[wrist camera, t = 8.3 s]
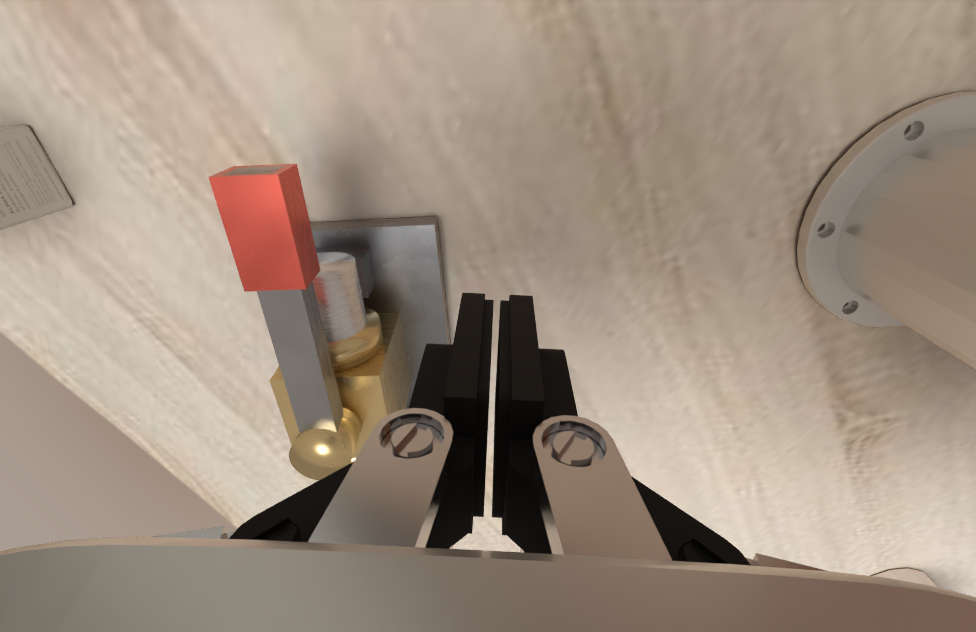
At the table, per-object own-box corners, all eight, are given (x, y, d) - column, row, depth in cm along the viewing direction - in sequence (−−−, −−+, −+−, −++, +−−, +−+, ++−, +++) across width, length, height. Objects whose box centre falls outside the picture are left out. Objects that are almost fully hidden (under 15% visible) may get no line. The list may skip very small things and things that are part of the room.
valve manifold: (436, 215, 26) (420, 271, 19) (459, 427, 33) (453, 520, 26) (253, 225, 26) (175, 283, 19) (316, 433, 33) (274, 527, 26)
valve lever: (365, 445, 23) (354, 479, 21) (311, 447, 23) (296, 481, 21) (303, 162, 16) (281, 176, 15) (229, 165, 17) (197, 179, 15)
